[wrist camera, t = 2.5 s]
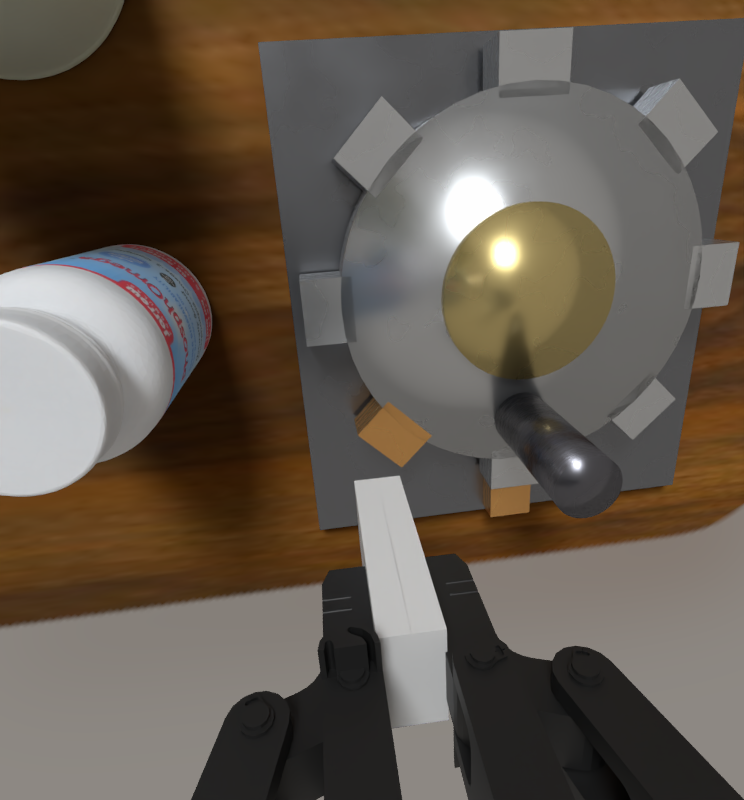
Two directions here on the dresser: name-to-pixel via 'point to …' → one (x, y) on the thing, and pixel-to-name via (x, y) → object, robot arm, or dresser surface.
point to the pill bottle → (91, 359)
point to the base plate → (338, 195)
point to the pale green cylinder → (51, 34)
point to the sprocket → (521, 269)
